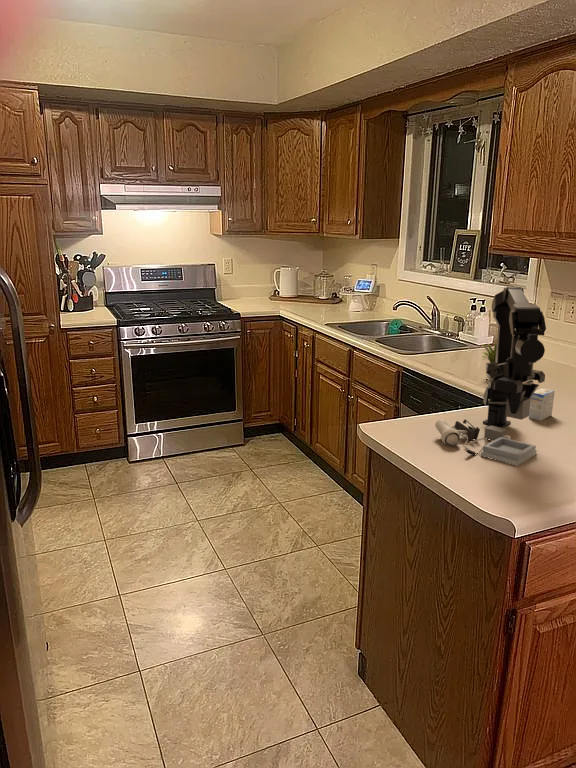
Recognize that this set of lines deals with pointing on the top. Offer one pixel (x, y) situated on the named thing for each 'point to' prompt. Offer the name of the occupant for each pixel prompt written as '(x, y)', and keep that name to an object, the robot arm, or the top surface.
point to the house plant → (490, 355)
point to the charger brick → (519, 409)
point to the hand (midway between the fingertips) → (517, 411)
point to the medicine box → (541, 404)
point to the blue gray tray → (509, 451)
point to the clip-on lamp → (458, 433)
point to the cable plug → (495, 433)
